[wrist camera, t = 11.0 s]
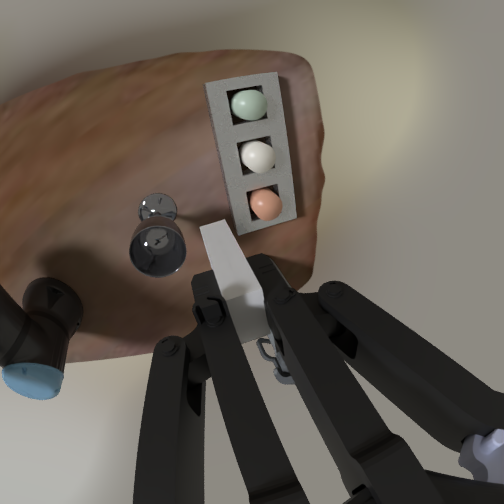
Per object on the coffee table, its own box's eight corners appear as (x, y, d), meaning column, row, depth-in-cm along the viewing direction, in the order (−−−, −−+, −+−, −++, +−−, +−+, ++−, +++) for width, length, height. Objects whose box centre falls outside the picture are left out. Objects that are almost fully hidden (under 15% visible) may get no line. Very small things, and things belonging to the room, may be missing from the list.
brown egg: (249, 213, 54) (257, 224, 50) (245, 189, 52) (253, 198, 48) (274, 206, 55) (284, 216, 51) (270, 182, 52) (280, 191, 48)
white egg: (241, 169, 49) (249, 176, 45) (236, 142, 47) (243, 147, 43) (267, 162, 50) (277, 169, 46) (263, 136, 47) (273, 140, 43)
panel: (234, 228, 56) (238, 235, 53) (202, 84, 40) (205, 83, 38) (290, 212, 58) (296, 218, 55) (270, 73, 42) (277, 71, 40)
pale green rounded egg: (231, 121, 44) (239, 123, 40) (226, 93, 42) (233, 92, 38) (259, 115, 45) (269, 117, 41) (254, 88, 43) (264, 87, 38)
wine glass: (178, 189, 48) (186, 224, 36) (179, 230, 52) (187, 275, 40) (134, 192, 46) (125, 228, 34) (138, 233, 50) (133, 279, 38)
